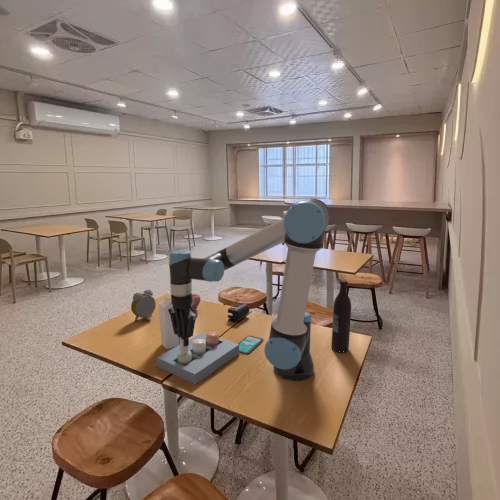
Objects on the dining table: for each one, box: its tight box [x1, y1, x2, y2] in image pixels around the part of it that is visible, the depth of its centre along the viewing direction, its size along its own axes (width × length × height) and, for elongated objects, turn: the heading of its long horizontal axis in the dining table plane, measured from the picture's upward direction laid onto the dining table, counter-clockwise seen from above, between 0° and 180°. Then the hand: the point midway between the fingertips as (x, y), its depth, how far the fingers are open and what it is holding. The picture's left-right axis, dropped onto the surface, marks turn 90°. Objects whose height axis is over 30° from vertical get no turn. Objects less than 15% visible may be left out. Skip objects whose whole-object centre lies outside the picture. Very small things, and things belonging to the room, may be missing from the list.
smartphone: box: [237, 335, 264, 356], centre depth 146 cm, size 9×1×15 cm
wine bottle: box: [330, 279, 352, 353], centre depth 139 cm, size 7×7×30 cm
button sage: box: [177, 350, 192, 366], centre depth 127 cm, size 5×5×4 cm
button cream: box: [192, 339, 206, 355], centre depth 133 cm, size 5×5×4 cm
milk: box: [158, 295, 180, 350], centre depth 144 cm, size 6×6×22 cm
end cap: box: [227, 303, 250, 323], centre depth 173 cm, size 10×7×7 cm
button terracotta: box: [206, 331, 220, 346], centre depth 139 cm, size 5×5×4 cm
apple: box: [191, 293, 201, 312], centre depth 184 cm, size 10×9×10 cm
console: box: [156, 331, 240, 385], centre depth 134 cm, size 20×26×4 cm
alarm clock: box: [130, 288, 157, 322], centre depth 171 cm, size 12×7×15 cm, turn 141°
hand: (184, 352), depth 126 cm, fingers closed
